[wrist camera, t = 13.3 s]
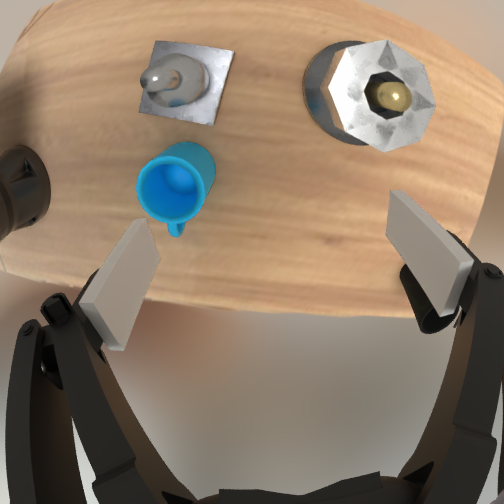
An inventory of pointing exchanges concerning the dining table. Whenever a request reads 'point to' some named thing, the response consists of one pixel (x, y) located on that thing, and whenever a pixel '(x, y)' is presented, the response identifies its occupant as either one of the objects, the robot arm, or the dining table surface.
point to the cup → (424, 305)
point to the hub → (376, 93)
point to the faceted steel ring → (354, 101)
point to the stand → (185, 81)
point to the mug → (176, 184)
